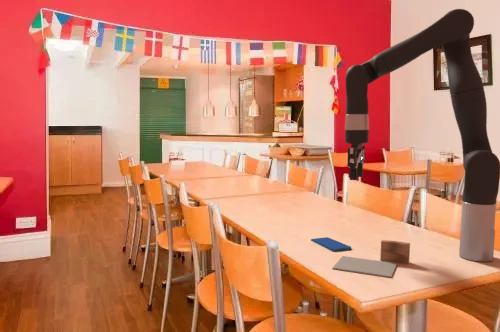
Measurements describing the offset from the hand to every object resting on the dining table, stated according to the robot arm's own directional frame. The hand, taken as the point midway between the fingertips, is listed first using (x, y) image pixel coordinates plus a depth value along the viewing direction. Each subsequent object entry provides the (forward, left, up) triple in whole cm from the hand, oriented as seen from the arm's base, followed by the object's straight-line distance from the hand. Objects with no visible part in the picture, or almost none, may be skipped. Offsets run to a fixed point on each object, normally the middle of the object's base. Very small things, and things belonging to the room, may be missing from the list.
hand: (356, 178), depth 146 cm
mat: (-7, +19, -23) cm, 30 cm away
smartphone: (+8, +1, -24) cm, 25 cm away
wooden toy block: (-14, +10, -23) cm, 29 cm away
